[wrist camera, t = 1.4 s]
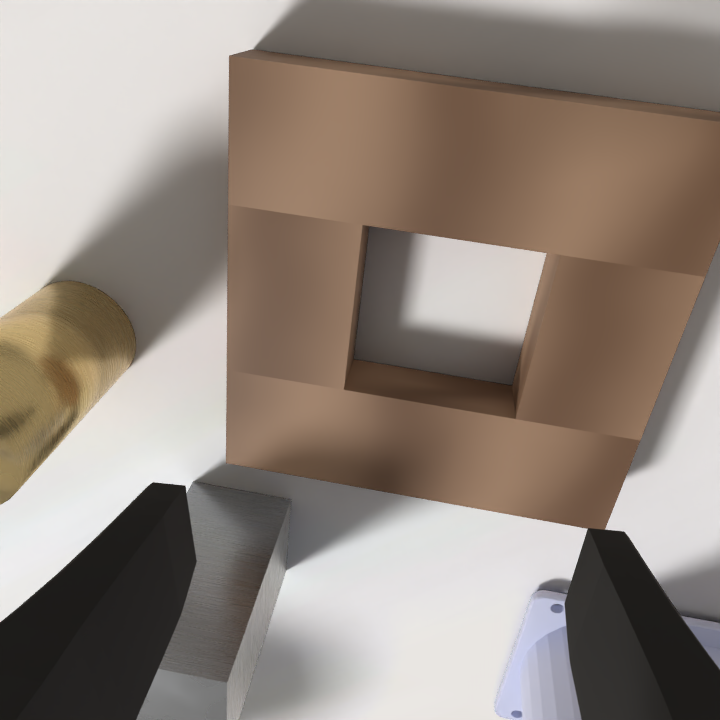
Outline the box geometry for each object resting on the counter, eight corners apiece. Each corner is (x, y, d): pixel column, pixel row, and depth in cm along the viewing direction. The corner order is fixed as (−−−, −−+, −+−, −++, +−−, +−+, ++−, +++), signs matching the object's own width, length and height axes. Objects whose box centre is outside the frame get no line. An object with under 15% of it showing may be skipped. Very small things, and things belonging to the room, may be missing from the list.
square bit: (291, 499, 26) (227, 682, 19) (286, 570, 28) (226, 759, 21) (193, 481, 26) (95, 655, 20) (195, 553, 28) (106, 734, 22)
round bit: (132, 290, 23) (8, 401, 17) (139, 389, 25) (31, 519, 19) (21, 272, 23) (-141, 374, 17) (36, 371, 25) (-103, 494, 19)
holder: (735, 114, 17) (764, 128, 16) (594, 492, 24) (604, 531, 22) (252, 49, 18) (229, 55, 17) (243, 430, 25) (226, 463, 23)
